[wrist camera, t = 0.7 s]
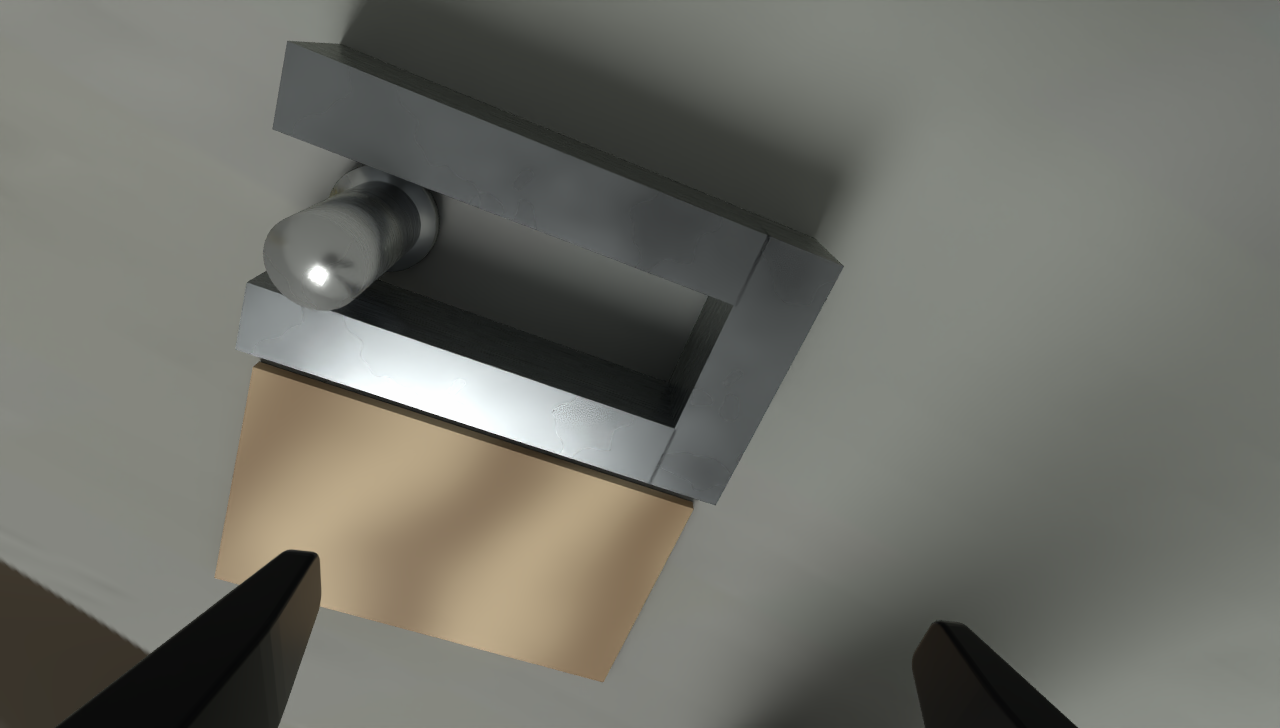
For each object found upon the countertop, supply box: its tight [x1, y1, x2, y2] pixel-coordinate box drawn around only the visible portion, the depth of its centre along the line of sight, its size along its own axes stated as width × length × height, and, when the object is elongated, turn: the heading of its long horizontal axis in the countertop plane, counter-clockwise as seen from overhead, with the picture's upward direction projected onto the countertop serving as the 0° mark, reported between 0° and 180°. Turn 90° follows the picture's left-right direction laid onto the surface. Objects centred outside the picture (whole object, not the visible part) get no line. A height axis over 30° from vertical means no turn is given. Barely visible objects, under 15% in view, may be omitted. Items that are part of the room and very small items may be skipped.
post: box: [263, 165, 440, 311], centre depth 17 cm, size 3×3×5 cm
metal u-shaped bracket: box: [236, 41, 844, 505], centre depth 19 cm, size 14×8×3 cm, turn 68°
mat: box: [215, 362, 694, 682], centre depth 24 cm, size 15×9×1 cm, turn 68°
